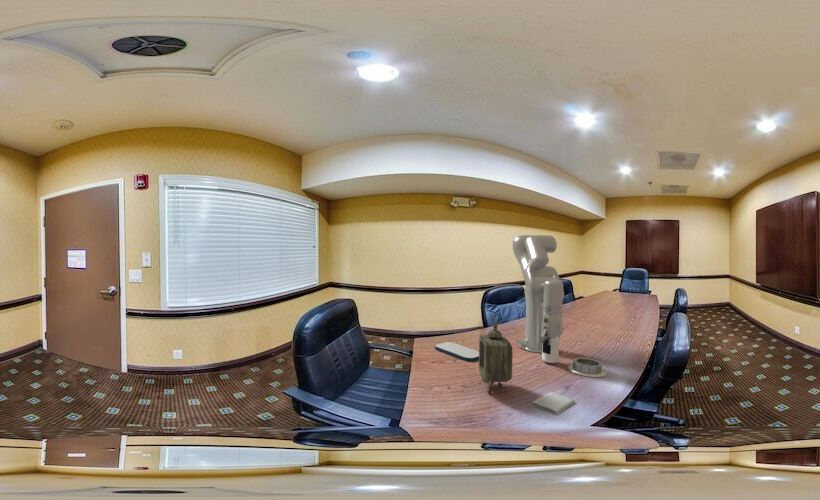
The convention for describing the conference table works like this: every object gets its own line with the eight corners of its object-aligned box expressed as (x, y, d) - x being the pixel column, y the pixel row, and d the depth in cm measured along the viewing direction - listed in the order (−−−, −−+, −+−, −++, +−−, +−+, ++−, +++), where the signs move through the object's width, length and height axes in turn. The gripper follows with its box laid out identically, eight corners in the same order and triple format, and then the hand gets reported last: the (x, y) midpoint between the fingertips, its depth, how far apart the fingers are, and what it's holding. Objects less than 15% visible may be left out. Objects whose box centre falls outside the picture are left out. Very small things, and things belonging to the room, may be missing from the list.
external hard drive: (487, 358, 163) (487, 354, 163) (469, 363, 156) (469, 359, 156) (449, 345, 181) (449, 341, 181) (431, 349, 174) (431, 345, 174)
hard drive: (556, 411, 112) (574, 399, 120) (531, 401, 118) (550, 390, 126) (556, 416, 112) (574, 404, 120) (531, 407, 118) (550, 395, 126)
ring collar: (575, 376, 142) (576, 367, 142) (563, 363, 156) (563, 355, 156) (613, 378, 141) (614, 369, 141) (597, 365, 155) (597, 356, 155)
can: (558, 359, 159) (559, 331, 158) (557, 364, 153) (559, 336, 152) (542, 356, 161) (543, 329, 160) (541, 361, 155) (542, 333, 155)
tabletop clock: (478, 379, 138) (479, 312, 137) (502, 379, 138) (504, 313, 137) (484, 396, 124) (486, 322, 123) (512, 396, 124) (514, 322, 122)
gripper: (550, 314, 147) (548, 358, 148) (570, 308, 158) (568, 349, 160) (533, 310, 153) (531, 353, 154) (554, 305, 164) (552, 344, 165)
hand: (550, 350), depth 157 cm, fingers closed on can, 6 cm apart
